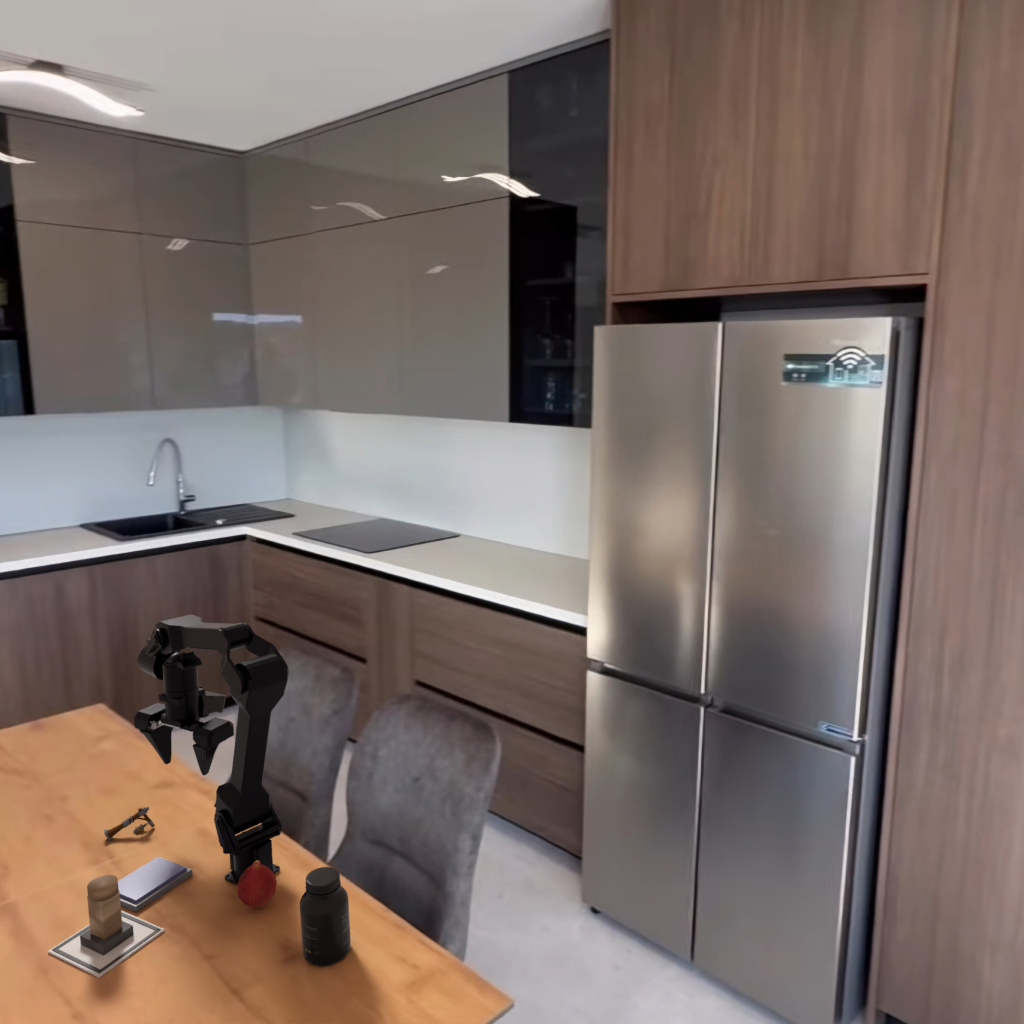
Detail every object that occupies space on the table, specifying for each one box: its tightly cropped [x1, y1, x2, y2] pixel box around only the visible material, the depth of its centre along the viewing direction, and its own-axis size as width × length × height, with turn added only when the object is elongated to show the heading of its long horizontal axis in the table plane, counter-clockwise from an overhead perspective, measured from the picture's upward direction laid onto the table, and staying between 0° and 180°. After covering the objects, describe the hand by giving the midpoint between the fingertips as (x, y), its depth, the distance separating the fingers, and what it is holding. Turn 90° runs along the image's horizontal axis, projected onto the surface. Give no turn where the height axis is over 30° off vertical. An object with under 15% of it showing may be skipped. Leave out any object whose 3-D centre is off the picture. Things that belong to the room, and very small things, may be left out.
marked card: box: [47, 910, 166, 979], centre depth 121 cm, size 11×11×1 cm
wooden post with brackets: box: [103, 806, 155, 842], centre depth 150 cm, size 2×8×4 cm, turn 119°
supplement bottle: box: [299, 866, 352, 967], centre depth 118 cm, size 7×7×12 cm
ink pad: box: [118, 856, 193, 913], centre depth 135 cm, size 8×11×2 cm
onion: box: [236, 860, 277, 910], centre depth 129 cm, size 6×6×8 cm
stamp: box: [80, 874, 134, 956], centre depth 121 cm, size 5×5×9 cm
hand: (186, 768), depth 149 cm, fingers open, 9 cm apart
